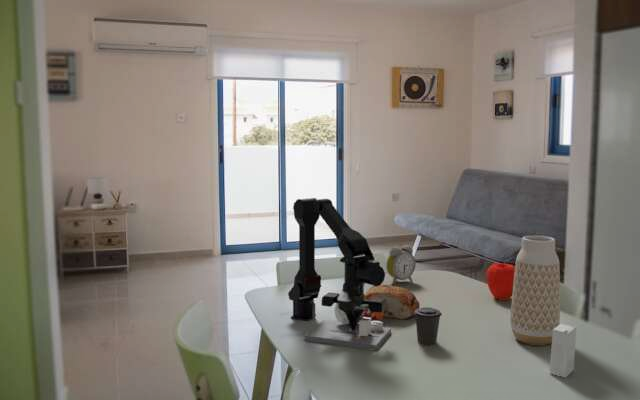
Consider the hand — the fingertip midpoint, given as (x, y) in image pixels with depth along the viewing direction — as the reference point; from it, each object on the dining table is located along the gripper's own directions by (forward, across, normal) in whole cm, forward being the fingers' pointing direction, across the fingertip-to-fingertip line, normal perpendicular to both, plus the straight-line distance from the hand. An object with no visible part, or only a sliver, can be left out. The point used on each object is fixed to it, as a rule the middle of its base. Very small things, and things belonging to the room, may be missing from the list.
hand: (353, 330), depth 183 cm
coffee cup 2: (+3, +21, +5) cm, 22 cm away
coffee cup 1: (0, +2, +18) cm, 18 cm away
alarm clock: (+3, -4, +69) cm, 69 cm away
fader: (+1, +4, 0) cm, 4 cm away
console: (+3, -2, +1) cm, 3 cm away
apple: (+3, +37, +60) cm, 71 cm away
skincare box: (+3, +58, -4) cm, 58 cm away
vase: (+3, +50, +19) cm, 54 cm away
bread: (+3, +3, +30) cm, 31 cm away
